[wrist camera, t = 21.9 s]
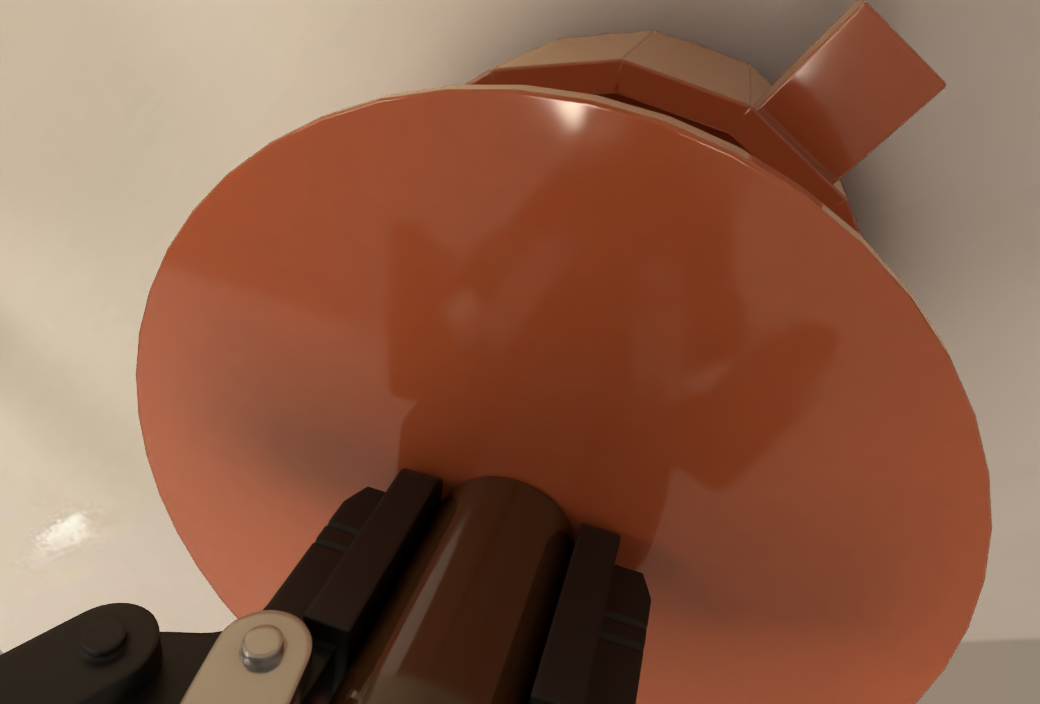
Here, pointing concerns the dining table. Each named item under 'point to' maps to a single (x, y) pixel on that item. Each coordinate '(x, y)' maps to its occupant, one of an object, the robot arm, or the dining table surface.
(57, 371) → the dining table surface
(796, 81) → the pot
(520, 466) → the lid
